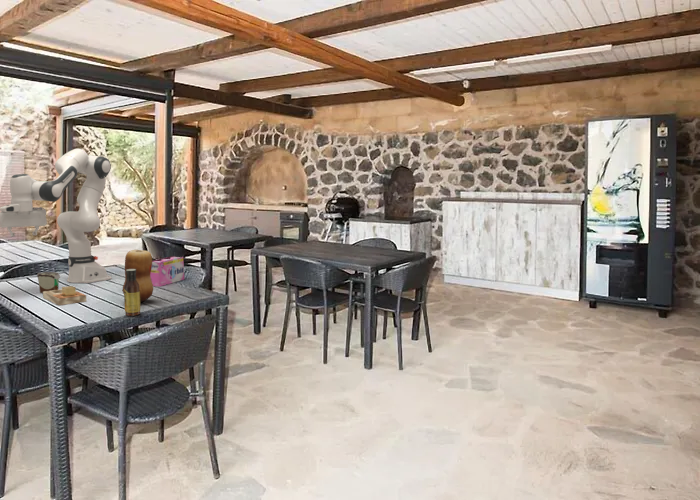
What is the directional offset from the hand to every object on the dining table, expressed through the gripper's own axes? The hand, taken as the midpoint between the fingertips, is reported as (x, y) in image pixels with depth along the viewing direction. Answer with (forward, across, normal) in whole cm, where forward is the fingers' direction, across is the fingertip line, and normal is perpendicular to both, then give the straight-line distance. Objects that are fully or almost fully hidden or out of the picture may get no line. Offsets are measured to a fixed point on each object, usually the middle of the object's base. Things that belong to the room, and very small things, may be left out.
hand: (23, 235), depth 252 cm
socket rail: (+29, -9, +24) cm, 39 cm away
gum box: (+29, -65, +17) cm, 73 cm away
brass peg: (+29, -9, +30) cm, 43 cm away
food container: (+29, -10, +4) cm, 31 cm away
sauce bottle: (+29, -20, +72) cm, 80 cm away
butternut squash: (+29, -32, +52) cm, 68 cm away
